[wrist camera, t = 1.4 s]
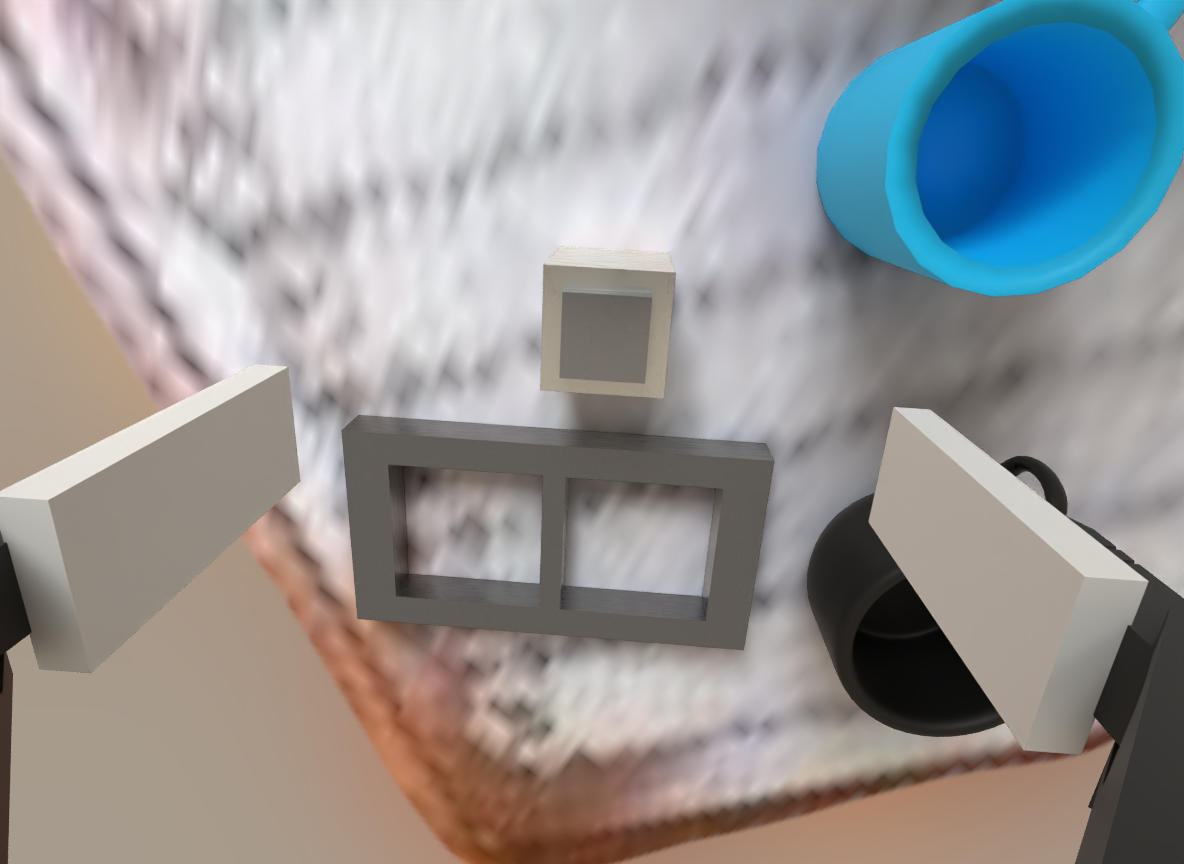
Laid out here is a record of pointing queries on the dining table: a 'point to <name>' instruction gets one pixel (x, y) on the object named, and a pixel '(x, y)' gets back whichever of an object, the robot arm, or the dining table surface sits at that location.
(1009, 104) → the mug
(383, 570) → the grey window frame
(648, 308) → the beige square peg
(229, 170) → the dining table surface
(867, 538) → the mug
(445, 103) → the dining table surface
